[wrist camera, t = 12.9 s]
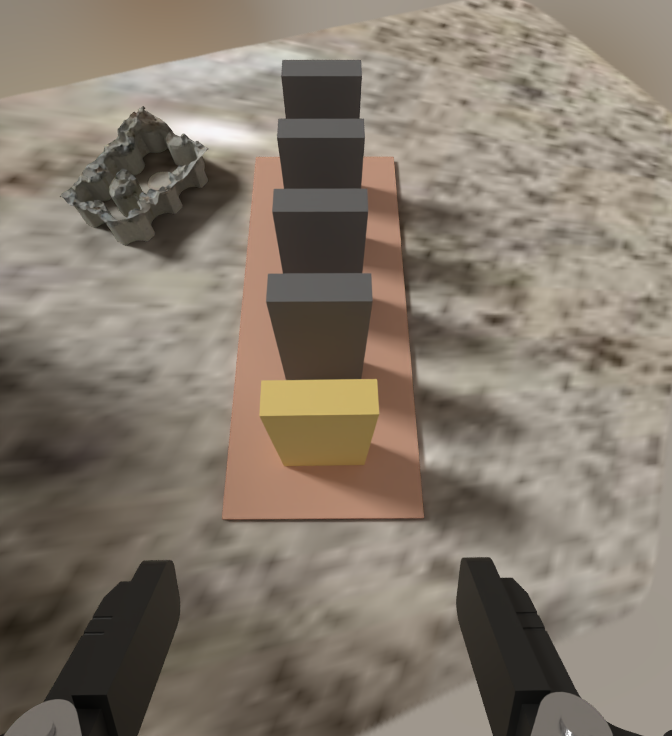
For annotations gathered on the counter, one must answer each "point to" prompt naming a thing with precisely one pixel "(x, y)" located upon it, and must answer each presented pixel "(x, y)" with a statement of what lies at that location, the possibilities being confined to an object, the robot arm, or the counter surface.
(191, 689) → the counter surface
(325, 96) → the charcoal domino
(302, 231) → the charcoal domino
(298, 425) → the ochre domino
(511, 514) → the counter surface
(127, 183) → the egg carton
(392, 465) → the terracotta mat
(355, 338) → the charcoal domino
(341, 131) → the charcoal domino
